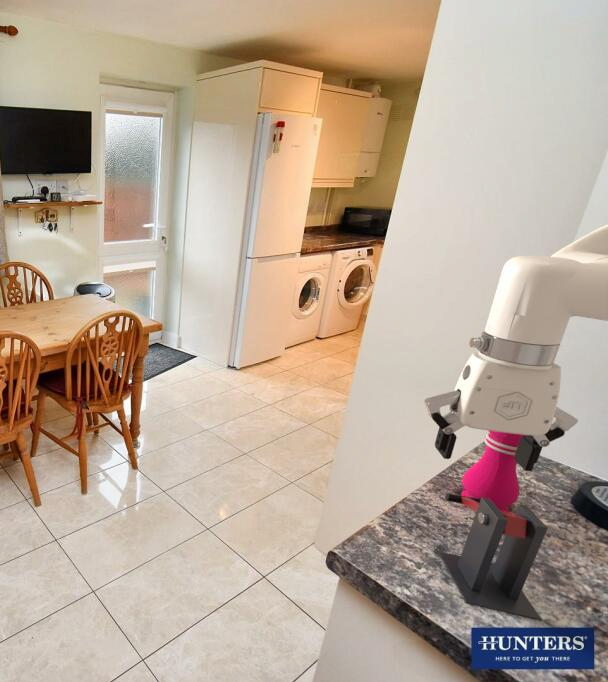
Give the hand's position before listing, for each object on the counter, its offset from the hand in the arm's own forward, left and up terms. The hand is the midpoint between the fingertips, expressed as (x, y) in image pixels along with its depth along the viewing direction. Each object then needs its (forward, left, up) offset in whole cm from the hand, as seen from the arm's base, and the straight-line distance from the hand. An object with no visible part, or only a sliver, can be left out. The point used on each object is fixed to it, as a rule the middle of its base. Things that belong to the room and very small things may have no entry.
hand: (481, 459), depth 65 cm
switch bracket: (0, +10, -14) cm, 17 cm away
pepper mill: (-8, -10, -15) cm, 19 cm away
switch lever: (0, +6, -6) cm, 9 cm away
